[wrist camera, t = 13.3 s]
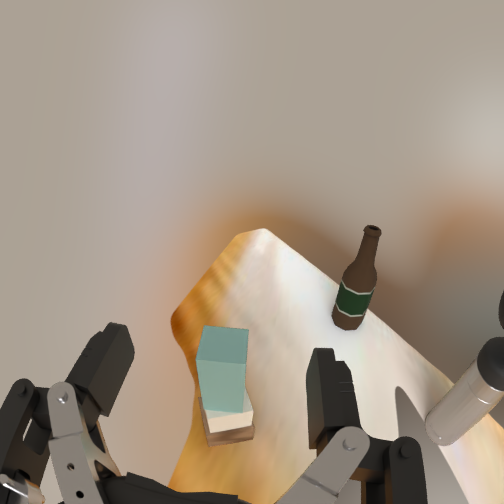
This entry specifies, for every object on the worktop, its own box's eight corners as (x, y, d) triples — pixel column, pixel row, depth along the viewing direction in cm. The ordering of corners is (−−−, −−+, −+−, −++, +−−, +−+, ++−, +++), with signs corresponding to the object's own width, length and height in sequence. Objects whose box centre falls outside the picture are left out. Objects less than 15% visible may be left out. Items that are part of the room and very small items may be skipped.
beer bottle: (324, 315, 63) (346, 221, 52) (347, 306, 66) (371, 218, 55) (344, 336, 57) (375, 238, 46) (367, 324, 60) (399, 233, 49)
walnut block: (241, 405, 42) (242, 390, 39) (252, 439, 36) (254, 427, 34) (201, 411, 40) (198, 397, 38) (208, 447, 34) (206, 436, 32)
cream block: (240, 393, 39) (241, 376, 36) (251, 425, 34) (253, 410, 31) (202, 400, 37) (199, 382, 35) (210, 433, 32) (207, 418, 30)
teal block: (244, 383, 35) (248, 329, 30) (242, 413, 31) (245, 364, 26) (209, 379, 35) (204, 325, 30) (203, 409, 31) (195, 359, 26)
